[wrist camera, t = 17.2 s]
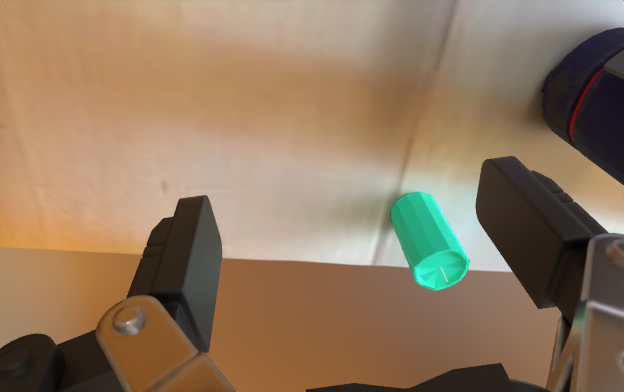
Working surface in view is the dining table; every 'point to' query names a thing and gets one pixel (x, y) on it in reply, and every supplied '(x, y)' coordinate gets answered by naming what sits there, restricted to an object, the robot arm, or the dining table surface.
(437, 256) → the candle
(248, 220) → the dining table surface
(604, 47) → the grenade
